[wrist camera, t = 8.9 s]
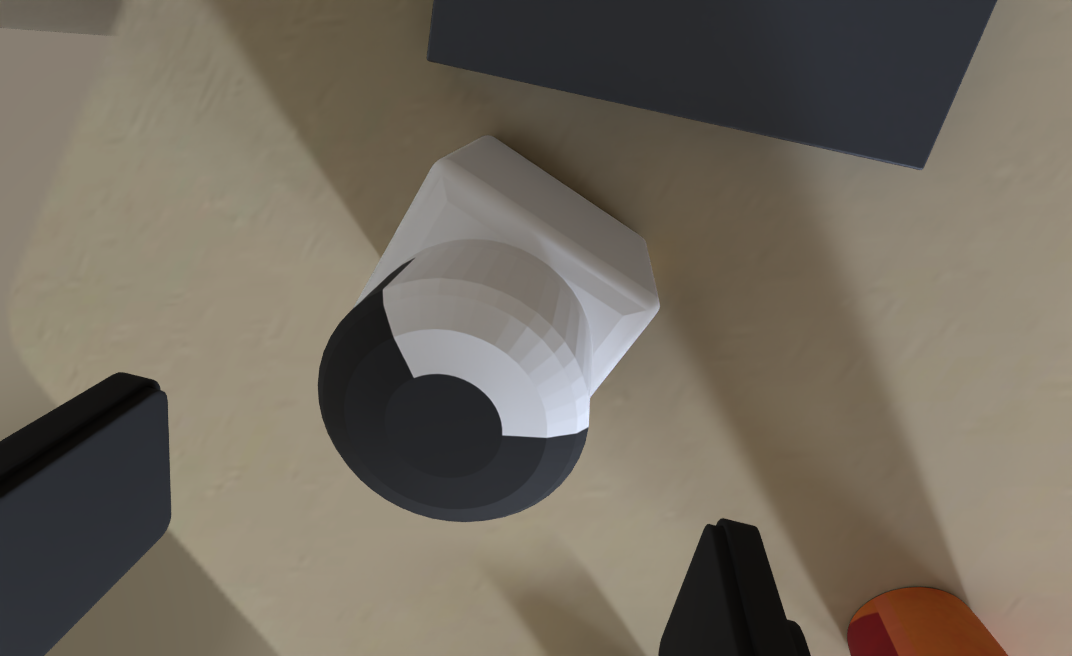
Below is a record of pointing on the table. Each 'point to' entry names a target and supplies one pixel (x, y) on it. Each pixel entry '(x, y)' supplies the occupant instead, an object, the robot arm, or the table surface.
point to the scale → (738, 61)
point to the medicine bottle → (483, 339)
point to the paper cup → (919, 626)
